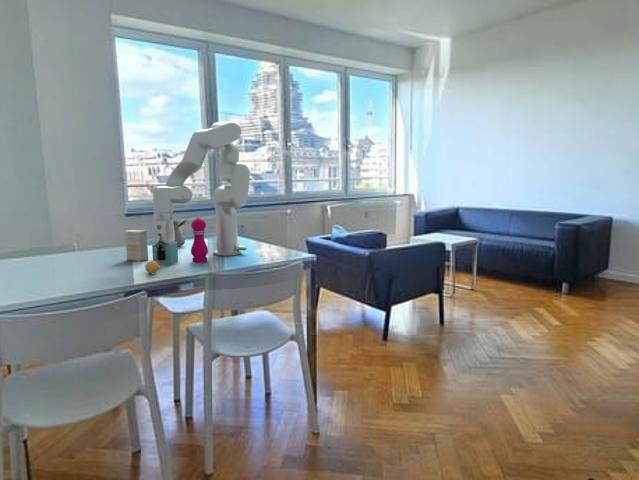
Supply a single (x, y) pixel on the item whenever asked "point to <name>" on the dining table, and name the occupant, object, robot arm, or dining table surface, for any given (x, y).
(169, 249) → the teal square block
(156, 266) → the ball
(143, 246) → the supplement box
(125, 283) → the dining table surface
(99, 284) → the dining table surface
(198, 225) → the pepper mill
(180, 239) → the coffee pot
